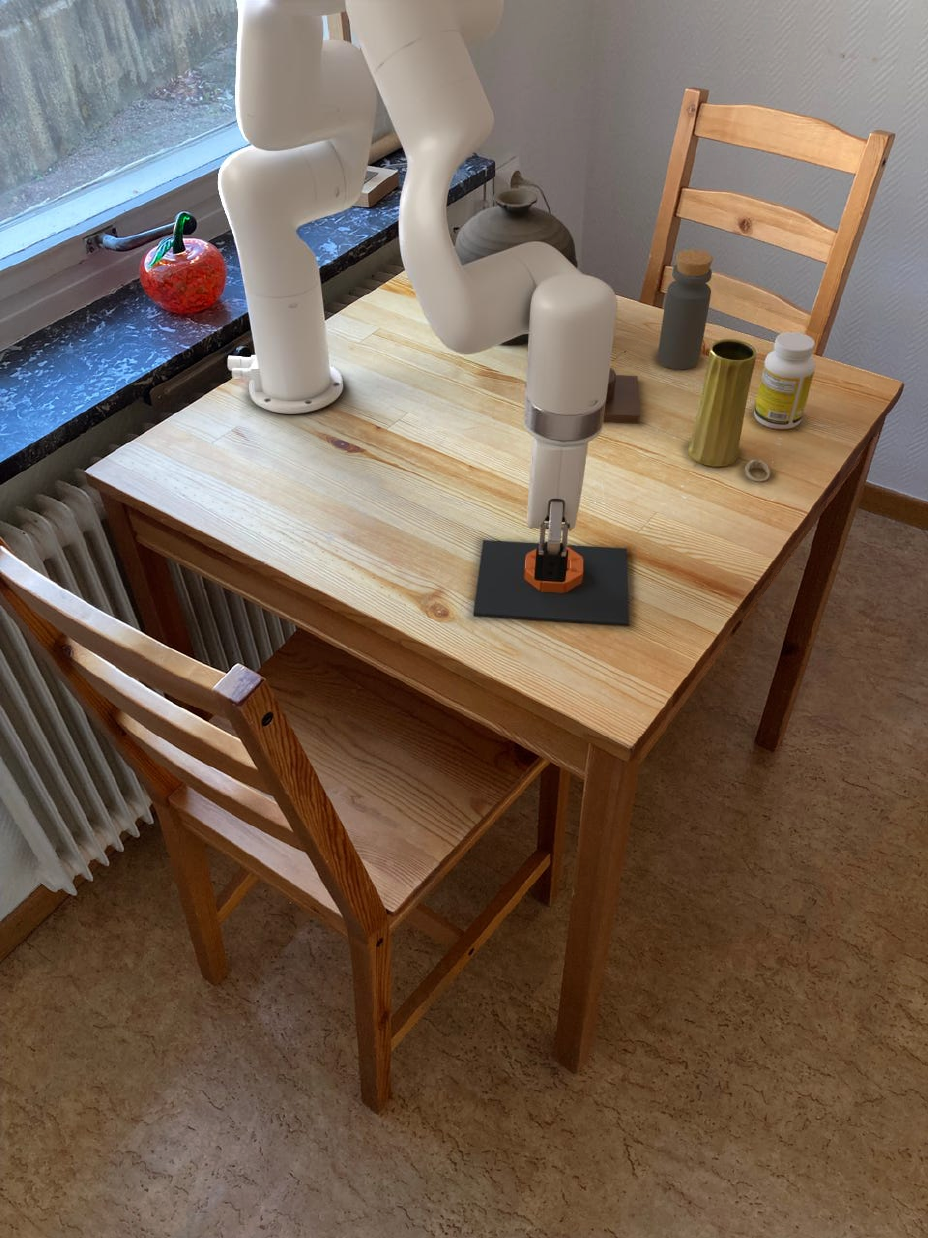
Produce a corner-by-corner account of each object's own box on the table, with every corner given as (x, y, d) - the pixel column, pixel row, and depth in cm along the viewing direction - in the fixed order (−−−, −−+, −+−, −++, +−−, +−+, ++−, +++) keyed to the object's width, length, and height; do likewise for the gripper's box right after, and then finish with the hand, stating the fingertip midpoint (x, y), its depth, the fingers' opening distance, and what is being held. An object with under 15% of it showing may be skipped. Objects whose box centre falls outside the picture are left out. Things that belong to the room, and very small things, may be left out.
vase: (737, 470, 122) (760, 365, 112) (686, 464, 122) (705, 360, 113) (737, 442, 126) (760, 339, 116) (688, 437, 127) (707, 334, 117)
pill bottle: (786, 402, 133) (805, 325, 125) (810, 426, 128) (831, 348, 121) (744, 409, 131) (760, 332, 124) (766, 434, 127) (785, 356, 120)
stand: (545, 418, 130) (549, 363, 124) (548, 379, 137) (552, 325, 132) (638, 423, 129) (645, 368, 124) (636, 383, 136) (643, 329, 131)
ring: (748, 486, 120) (739, 468, 122) (772, 483, 121) (762, 465, 122) (752, 478, 119) (743, 460, 121) (775, 475, 119) (766, 456, 121)
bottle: (703, 354, 142) (722, 251, 131) (692, 373, 138) (710, 269, 128) (664, 345, 144) (679, 243, 133) (651, 364, 140) (666, 261, 129)
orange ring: (523, 590, 105) (523, 580, 104) (526, 553, 110) (526, 543, 109) (582, 594, 105) (583, 584, 104) (582, 556, 109) (583, 546, 108)
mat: (473, 616, 103) (473, 613, 103) (483, 542, 112) (483, 539, 112) (628, 626, 102) (628, 623, 102) (626, 551, 111) (626, 548, 110)
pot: (563, 363, 139) (561, 218, 126) (442, 356, 144) (427, 215, 130) (588, 308, 152) (588, 171, 138) (476, 303, 156) (465, 170, 143)
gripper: (529, 360, 100) (520, 496, 112) (518, 462, 88) (510, 602, 100) (604, 364, 99) (587, 501, 111) (604, 467, 87) (585, 608, 99)
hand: (551, 548), depth 105 cm, fingers open, 9 cm apart
